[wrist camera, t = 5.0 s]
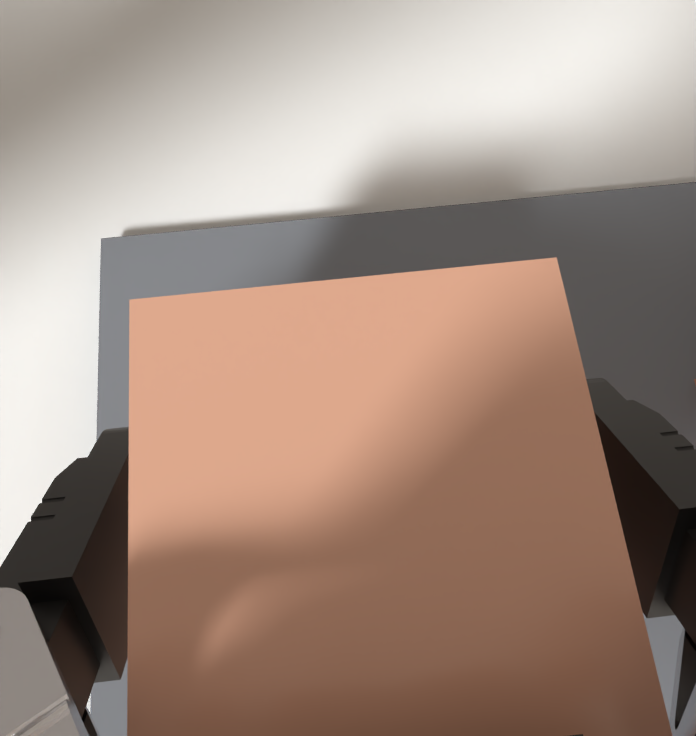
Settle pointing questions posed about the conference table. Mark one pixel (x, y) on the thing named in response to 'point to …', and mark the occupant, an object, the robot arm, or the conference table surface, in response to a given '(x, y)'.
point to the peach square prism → (376, 515)
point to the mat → (438, 251)
